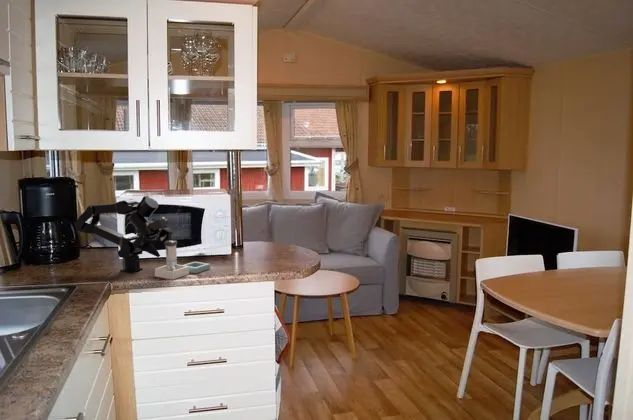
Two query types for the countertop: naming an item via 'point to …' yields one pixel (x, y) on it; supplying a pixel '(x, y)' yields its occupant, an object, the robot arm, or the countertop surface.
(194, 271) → the collar
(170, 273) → the tray
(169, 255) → the salt shaker
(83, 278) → the countertop surface
